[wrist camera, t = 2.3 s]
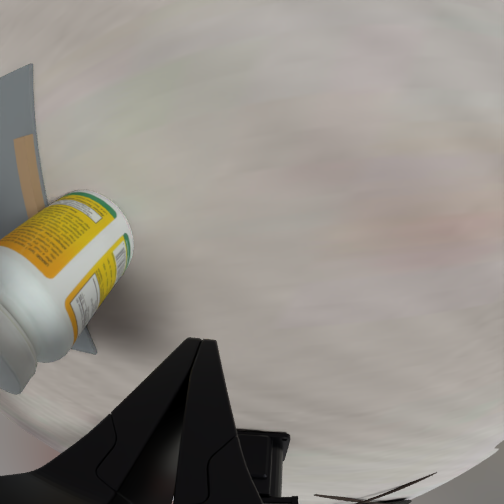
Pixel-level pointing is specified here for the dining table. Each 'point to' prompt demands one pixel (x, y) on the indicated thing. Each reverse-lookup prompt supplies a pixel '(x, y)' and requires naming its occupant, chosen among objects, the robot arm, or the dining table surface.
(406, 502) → the sushi plate
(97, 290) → the supplement bottle
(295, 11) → the dining table surface
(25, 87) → the grey flat board
